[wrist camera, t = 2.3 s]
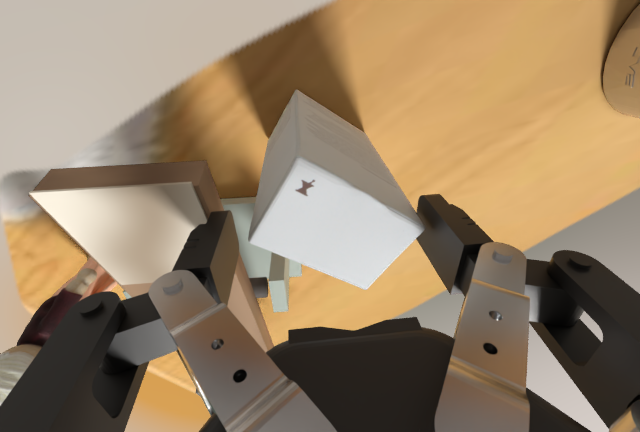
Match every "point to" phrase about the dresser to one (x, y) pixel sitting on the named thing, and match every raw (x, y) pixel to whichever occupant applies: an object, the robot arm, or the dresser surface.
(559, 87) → the dresser surface
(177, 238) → the beam
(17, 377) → the grandmother figurine
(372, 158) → the skincare box
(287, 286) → the beam stand
